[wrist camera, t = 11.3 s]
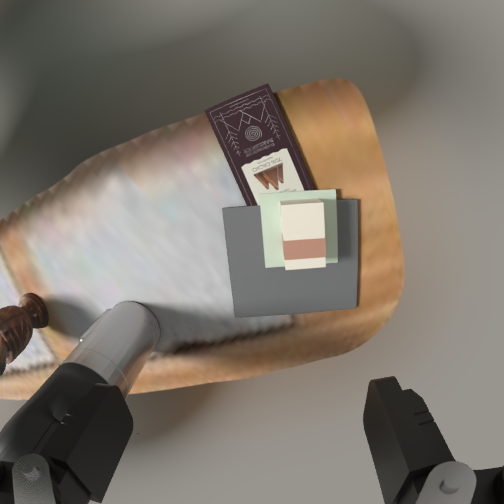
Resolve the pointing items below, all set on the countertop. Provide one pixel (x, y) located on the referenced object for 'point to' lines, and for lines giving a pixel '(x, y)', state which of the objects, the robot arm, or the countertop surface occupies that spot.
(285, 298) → the mat
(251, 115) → the chocolate bar
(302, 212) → the card box
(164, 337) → the countertop surface
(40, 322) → the mortar and pestle
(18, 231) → the countertop surface
